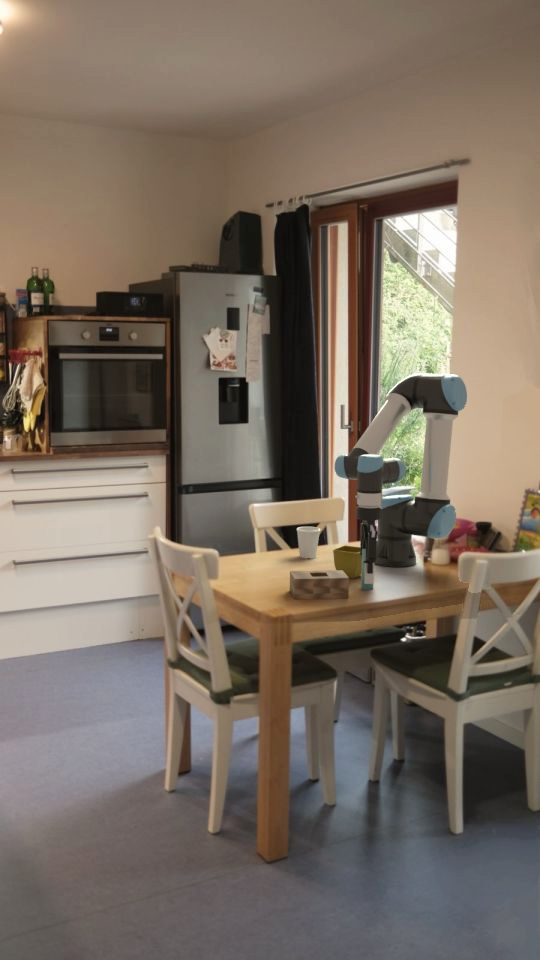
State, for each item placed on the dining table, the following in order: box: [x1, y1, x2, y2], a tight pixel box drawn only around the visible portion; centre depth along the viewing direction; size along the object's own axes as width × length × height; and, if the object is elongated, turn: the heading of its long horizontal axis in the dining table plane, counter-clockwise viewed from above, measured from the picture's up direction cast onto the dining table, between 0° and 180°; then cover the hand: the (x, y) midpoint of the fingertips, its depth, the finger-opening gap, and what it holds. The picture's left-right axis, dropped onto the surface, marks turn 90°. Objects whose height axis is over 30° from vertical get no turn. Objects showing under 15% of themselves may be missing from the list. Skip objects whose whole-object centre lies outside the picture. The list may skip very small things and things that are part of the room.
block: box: [289, 569, 350, 600], centre depth 290 cm, size 16×10×6 cm, turn 97°
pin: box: [360, 549, 374, 591], centre depth 297 cm, size 4×4×12 cm
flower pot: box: [332, 544, 362, 579], centre depth 313 cm, size 9×9×9 cm
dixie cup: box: [296, 526, 321, 559], centre depth 342 cm, size 8×8×10 cm
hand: (367, 581), depth 298 cm, fingers closed on pin, 3 cm apart
